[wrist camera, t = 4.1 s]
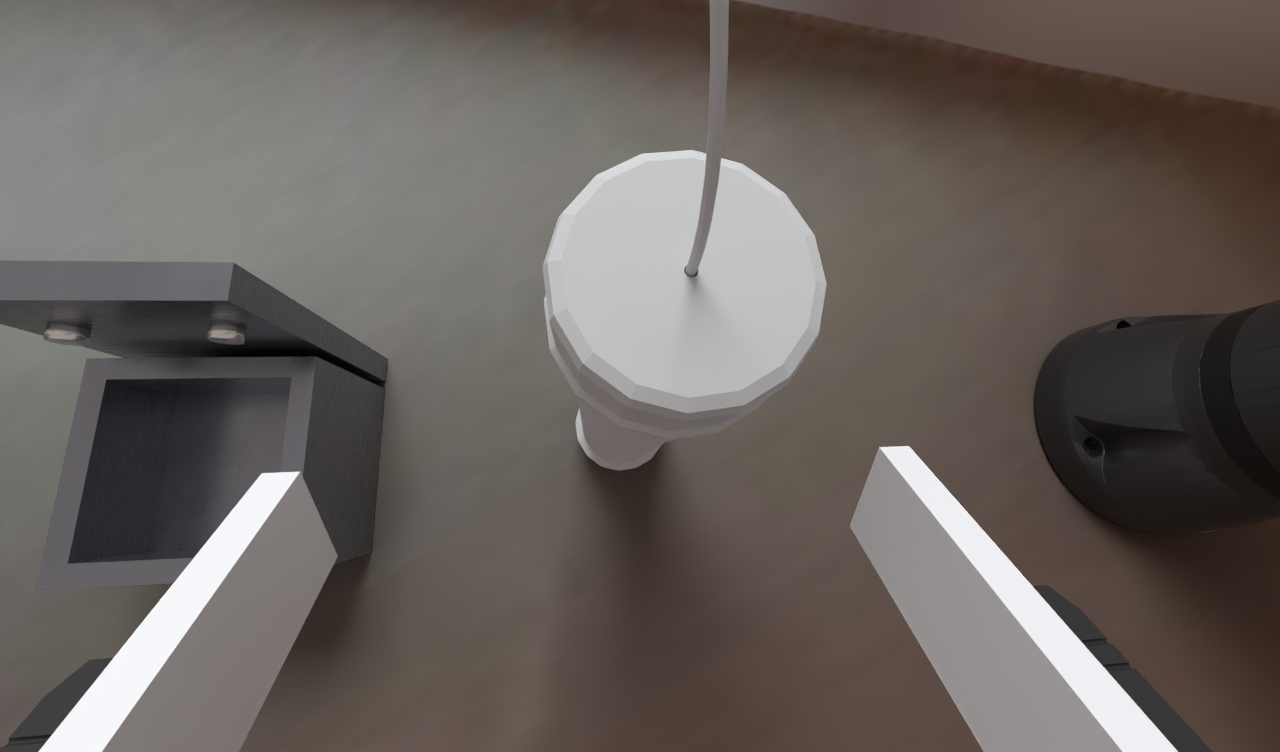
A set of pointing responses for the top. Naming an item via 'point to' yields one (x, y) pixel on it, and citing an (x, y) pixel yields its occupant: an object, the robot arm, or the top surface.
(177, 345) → the grey open box
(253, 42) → the top surface
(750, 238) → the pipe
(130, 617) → the top surface
